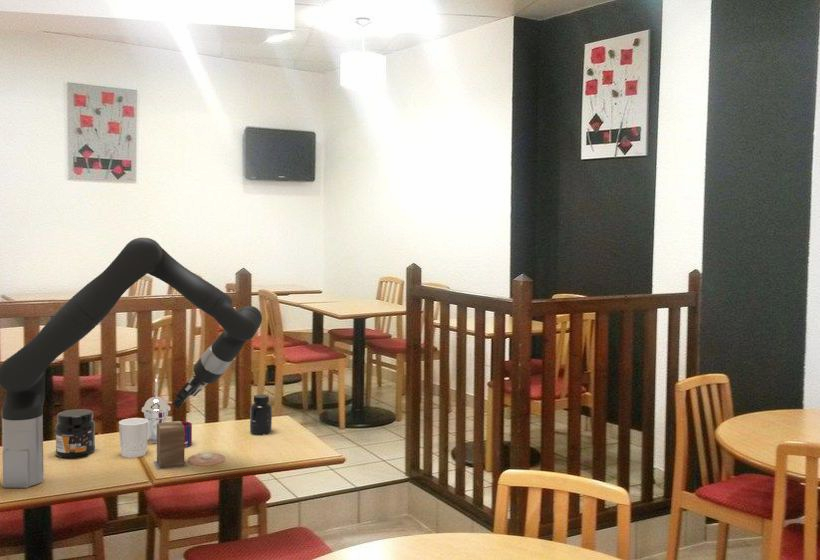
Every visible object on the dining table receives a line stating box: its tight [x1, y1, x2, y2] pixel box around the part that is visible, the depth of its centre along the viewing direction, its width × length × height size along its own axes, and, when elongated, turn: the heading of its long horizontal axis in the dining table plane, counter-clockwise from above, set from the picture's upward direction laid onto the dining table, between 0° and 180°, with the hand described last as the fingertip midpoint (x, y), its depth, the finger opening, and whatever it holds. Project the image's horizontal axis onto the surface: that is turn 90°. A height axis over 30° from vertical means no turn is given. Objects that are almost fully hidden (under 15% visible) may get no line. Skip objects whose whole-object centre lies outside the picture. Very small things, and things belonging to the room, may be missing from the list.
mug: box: [181, 421, 193, 449], centre depth 234 cm, size 7×10×7 cm
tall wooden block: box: [156, 420, 185, 469], centre depth 214 cm, size 6×6×11 cm
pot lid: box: [187, 452, 226, 467], centre depth 218 cm, size 10×10×2 cm
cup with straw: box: [141, 373, 171, 444], centre depth 237 cm, size 8×9×20 cm
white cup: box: [118, 417, 148, 459], centre depth 222 cm, size 8×8×10 cm
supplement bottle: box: [249, 394, 273, 436], centre depth 249 cm, size 7×7×12 cm
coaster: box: [152, 460, 189, 471], centre depth 214 cm, size 8×8×1 cm
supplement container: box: [54, 408, 96, 459], centre depth 223 cm, size 10×10×12 cm
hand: (183, 399), depth 218 cm, fingers open, 8 cm apart
